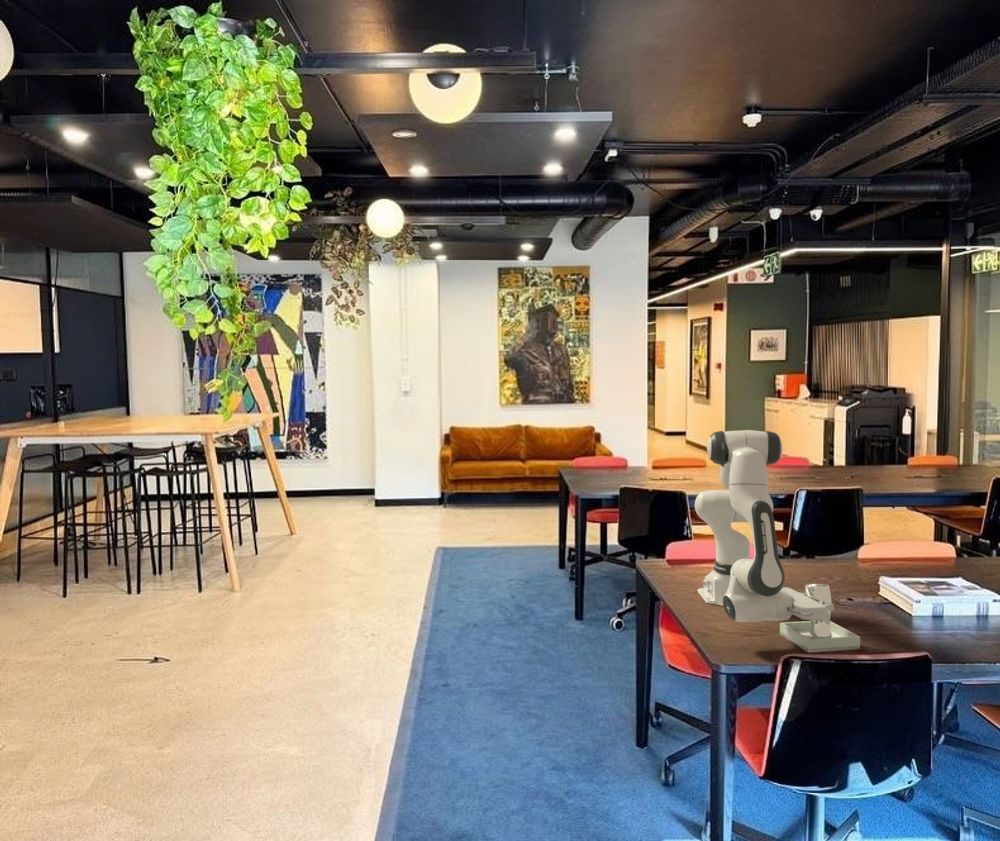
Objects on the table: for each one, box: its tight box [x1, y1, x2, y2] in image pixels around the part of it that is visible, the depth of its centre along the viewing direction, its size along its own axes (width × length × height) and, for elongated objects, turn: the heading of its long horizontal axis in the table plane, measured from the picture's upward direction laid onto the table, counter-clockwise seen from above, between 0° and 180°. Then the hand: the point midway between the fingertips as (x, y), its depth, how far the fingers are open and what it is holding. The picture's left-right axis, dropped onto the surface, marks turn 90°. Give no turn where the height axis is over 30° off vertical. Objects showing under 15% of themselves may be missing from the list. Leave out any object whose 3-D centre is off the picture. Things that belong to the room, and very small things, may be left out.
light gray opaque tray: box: [779, 620, 861, 653], centre depth 211 cm, size 15×16×4 cm
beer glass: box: [804, 583, 833, 639], centre depth 211 cm, size 7×7×15 cm
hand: (822, 601), depth 211 cm, fingers open, 8 cm apart
